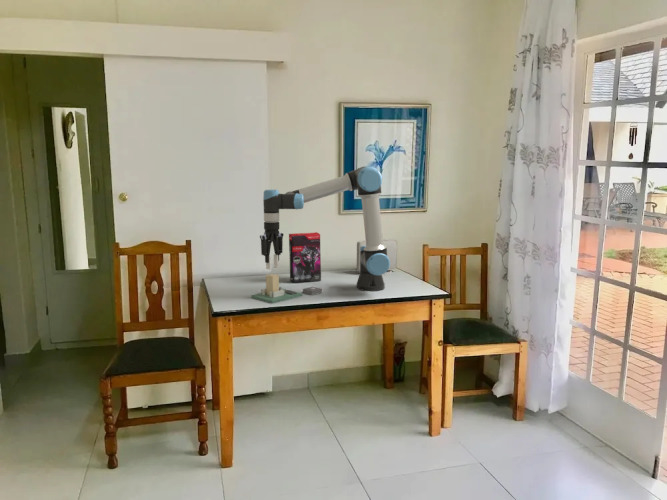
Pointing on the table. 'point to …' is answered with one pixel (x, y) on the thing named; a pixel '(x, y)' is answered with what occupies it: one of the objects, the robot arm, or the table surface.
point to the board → (276, 295)
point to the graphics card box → (305, 257)
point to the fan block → (312, 290)
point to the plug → (272, 283)
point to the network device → (391, 252)
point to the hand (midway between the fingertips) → (272, 268)
